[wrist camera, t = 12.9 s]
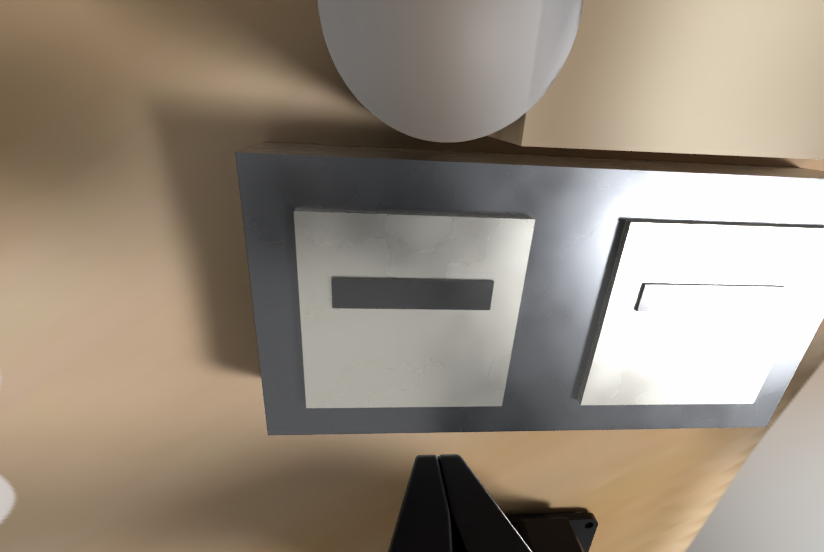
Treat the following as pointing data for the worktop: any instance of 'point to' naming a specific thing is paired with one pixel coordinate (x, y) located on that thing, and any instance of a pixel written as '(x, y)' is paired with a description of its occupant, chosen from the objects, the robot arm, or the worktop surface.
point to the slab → (525, 289)
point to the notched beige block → (590, 72)
